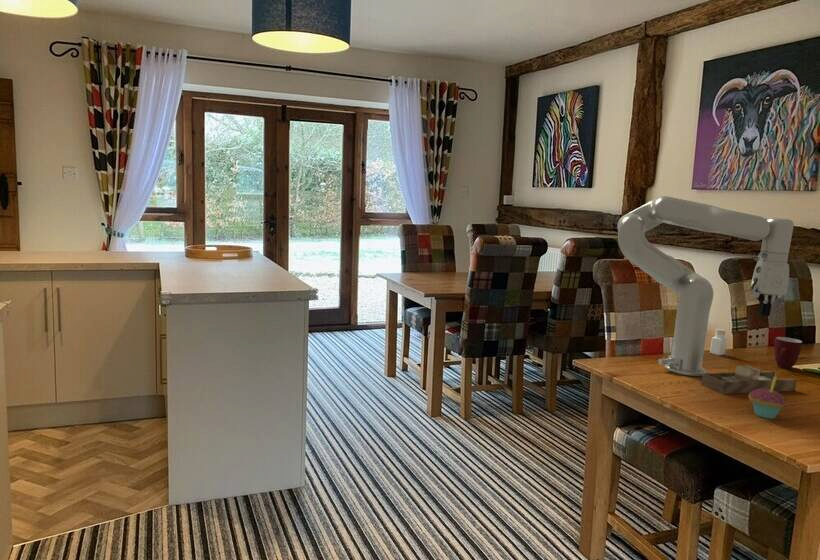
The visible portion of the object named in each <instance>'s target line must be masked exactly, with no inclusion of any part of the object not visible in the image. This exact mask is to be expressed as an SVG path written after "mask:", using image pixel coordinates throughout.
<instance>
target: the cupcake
mask: <svg viewBox="0 0 820 560" xmlns="http://www.w3.org/2000/svg"><path fill="white" fill-rule="evenodd" d="M777 375H778V374H775V375H774V378H773V381H772V385H771V388H770V390H769V389H765V388H758V389H756V390H755V389H754V390H753V391H751V392H750V393H748V396H747V397H748V400H750V402H752V406H753V410H754V414H755V415H756V416H758V417H761V418H764V419H776V417H777V415H778V414H779V412H780V411H781V409H782V408H783V407H786V398H785V397H784V396H783V394H781V393H779V392H780V391H773V389H774V385H775V382H776V380H777V379H778V378H777Z"/></svg>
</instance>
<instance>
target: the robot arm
mask: <svg viewBox="0 0 820 560" xmlns="http://www.w3.org/2000/svg"><path fill="white" fill-rule="evenodd" d="M663 223H664V224H669V225H673V226H678V227H683V228H687V229H692V230H695V231H701V232H706V233H716V234H721V235H726V236H730V237H731V236H732V237H736V238H740V239H745V240H749V241H754V242H758V241H761V240H762V241H761V247H760V252H759V253H758V255H757V258H758V261H757V262H756V265H755V267H754V270H753V274H752V278H751V283H750V290H751V294H750V295H751V297H754V298H756V299H757V302H758V309H757V315H758V316H762V317H770V316H771V315H770V314H771V311H772V305H773V304H775V301H776V300H777V299H781V298H783V297H784V295H786V294H787V293H788V290H789V288H788V287H789V282H790V264H789V263H788V261H789V260H788V259H789V253H790V247H791V242H792V237H793V230H794V221H793V220H791V219H789V218H778V217H776V218H775V217H771V218H765V217H763V216H761V215H756V214H750V213H745V212H741V211H736V210H732V209H727V208H722V207H719V206H715V205H712V204H707V203H702V202H698V201H691V200H687V199H682V198H678V197H673V196H668V195H667V196H665V195H664V196H662V195H661V196H657V197H656V198H654V199H652V200H650V201H647V203H645V204H643V205H641V206H640V207H637V208H635V209H634V210H632V211H629V212H628V213H626V214H624V215H623V216H621V217H620V218H619V220H618V222H617V225H616V226H617V243H618V247H619V249H620V252H621V253H622V255H623V256H624V257H625V258H626V259H627V260H628V261H629V262H631V263H632V264H634V265H635V266H636V267H638V268H639V269H640V270H641V271H643V272H644V273H645V274H647V275H648V276H650V277H651V278H652V279H653V280H655V282H657V283H659V284H661V285H662V286H664V287H665V288H666V289H668V290H669V291H671V292H672V293H674V294H675V295H677V296H678V297H679V299H678V300H679V301H678V305H677V311H676V316H675V325H674V331H673V332H674V333H673V340H672V346H671V354H670V355H669V354H668V357H666V358H659V359H658V360H657V362H658V364H659V366H660V365H661V366H662V365H664V368H665V369H666V370H667V371H670V372H672V373H675V374H679V375H682V376H683V375H684V376H690V377H702V373H707V370H706V369H705V368H704V367H703V360H704V353H705V345H706V340H707V331H708V326H709V325H708V324H709V318H710V312H711V308H712V304H713V299H714V288H713V285H712V284H711V282H709V280H708V279H706V278H705V277H703V276H701V275H700V274H699V273H697V272H695V271H693V269H691V268H689V267H688V266H687V265H685V264H683V263H682V262H681V261H679V260H678V259H676V258H675V257H674V256H671V255H669V254H666V253H665V252H663V251H662V250H661V249H660V248H657V247H656V246H655V245H653V244H652V243H650V242H649V240H647V238H646V234H645V233H646V232H648V231H650V230H652V229H653V228H656V227H657V226H659V225H661V224H663Z"/></svg>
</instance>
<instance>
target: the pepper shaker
mask: <svg viewBox="0 0 820 560" xmlns="http://www.w3.org/2000/svg"><path fill="white" fill-rule="evenodd" d="M726 331H727V330H726V329H724V328H715V332H714V333H715V334H714V336H712V337H711V341H710V348H709V349H710V350H709V353H710V354H711V353H712V355H715V356H719V357H720V356H724V355H725V354H726V348H727V342H728V341H727V339H726V337H725V335H726Z"/></svg>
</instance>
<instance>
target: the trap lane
mask: <svg viewBox="0 0 820 560" xmlns="http://www.w3.org/2000/svg"><path fill="white" fill-rule="evenodd" d="M775 373H776V371H773V370H769V371H765V370H764V371H763V370H760V374H759V380H750V381H739V380H737V379H734V378H735V371H734V372H732V371H731V372H706V373H702V376H701V381H700V385H702V386H704V387H706V388H708V389H711V390H712V391H715V392H718V393H720V394H722V395H724V394H726V395H727V394H745V393H746V394H749V393H750V392H751V391H753V390H754V389H755V390H756V389H758V388H765V389H769V390H770V388H771V385H772V381H773V378H774V377H775V376H776V374H775ZM796 386H797V379H796V378H789V379H788V378H783V379H778V378H777V379H776V382H775V385H774V389H773V391H776V392H795V391H796Z"/></svg>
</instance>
